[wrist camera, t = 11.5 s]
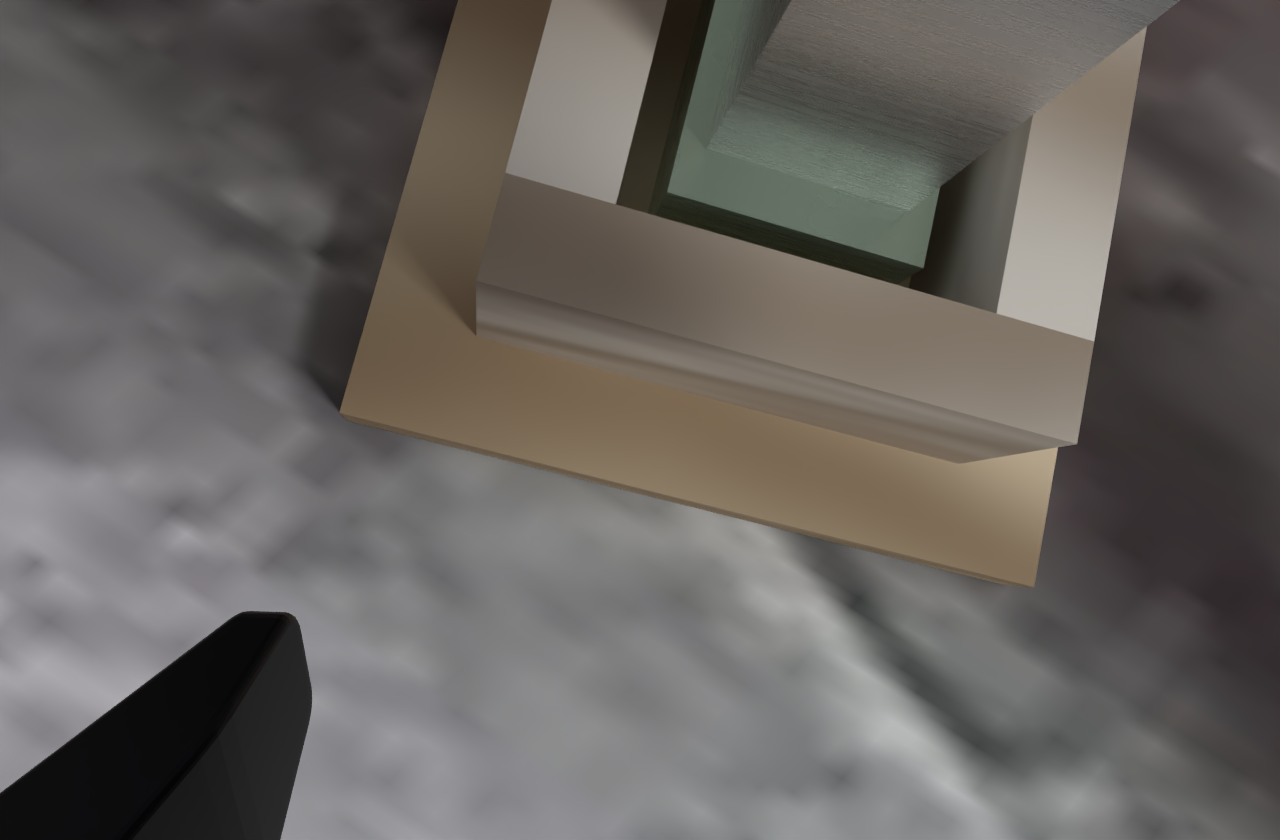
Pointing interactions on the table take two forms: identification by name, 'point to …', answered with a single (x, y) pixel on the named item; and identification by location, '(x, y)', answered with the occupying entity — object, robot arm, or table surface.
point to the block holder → (735, 304)
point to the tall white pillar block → (862, 113)
